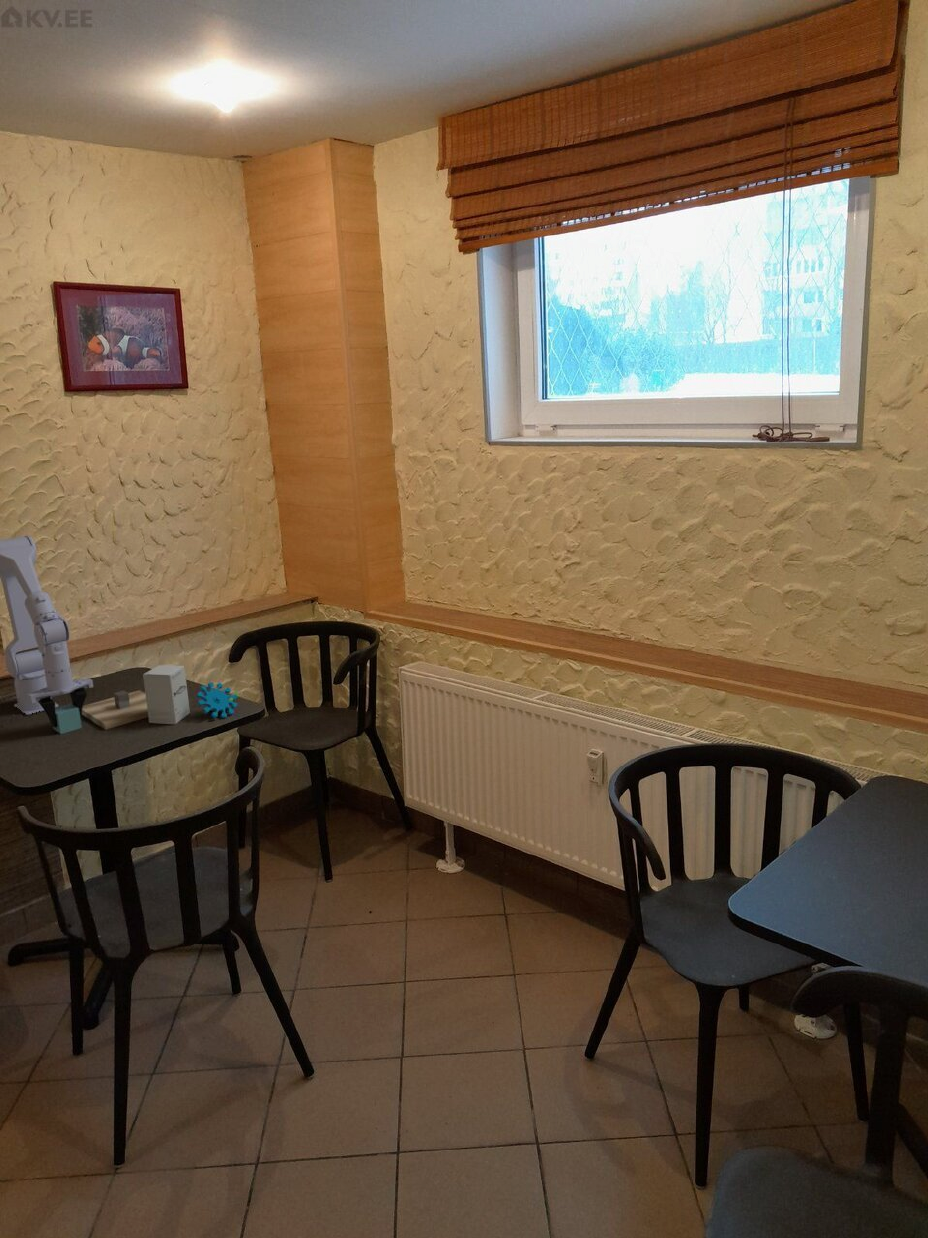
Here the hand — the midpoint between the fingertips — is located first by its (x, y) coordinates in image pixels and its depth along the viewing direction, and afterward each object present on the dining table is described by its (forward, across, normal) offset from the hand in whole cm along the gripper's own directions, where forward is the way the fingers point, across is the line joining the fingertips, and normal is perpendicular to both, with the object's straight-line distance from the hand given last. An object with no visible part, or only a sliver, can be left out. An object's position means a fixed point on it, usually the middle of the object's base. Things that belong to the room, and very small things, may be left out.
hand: (66, 722), depth 225 cm
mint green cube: (+1, 0, 0) cm, 1 cm away
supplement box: (+2, +20, -13) cm, 24 cm away
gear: (+2, +30, -20) cm, 36 cm away
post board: (+1, +14, 0) cm, 14 cm away
